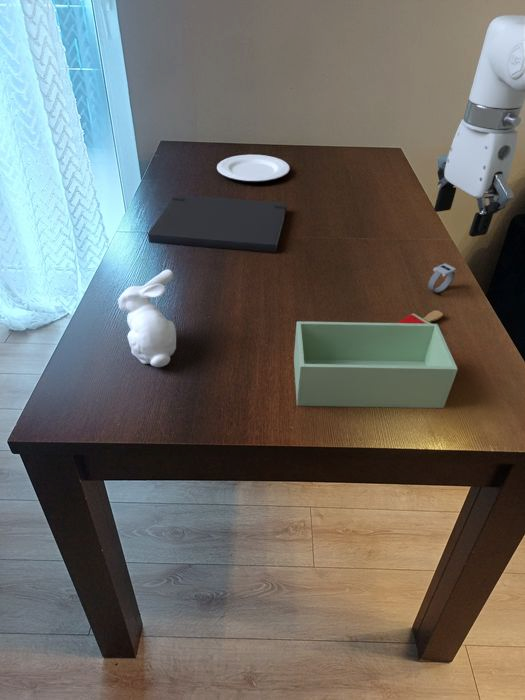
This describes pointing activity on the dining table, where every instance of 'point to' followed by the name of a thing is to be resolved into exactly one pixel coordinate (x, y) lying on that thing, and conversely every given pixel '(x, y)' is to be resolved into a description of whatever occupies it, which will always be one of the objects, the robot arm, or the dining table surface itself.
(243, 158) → the plate
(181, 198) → the notebook
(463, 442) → the dining table surface
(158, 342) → the rabbit
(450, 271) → the wristwatch
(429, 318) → the popsicle
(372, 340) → the bin
